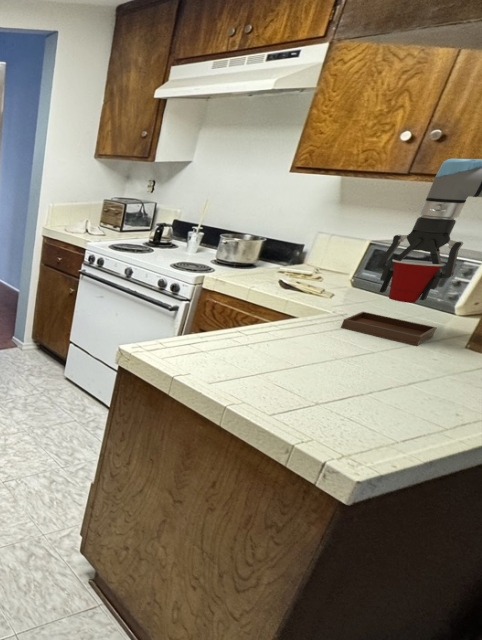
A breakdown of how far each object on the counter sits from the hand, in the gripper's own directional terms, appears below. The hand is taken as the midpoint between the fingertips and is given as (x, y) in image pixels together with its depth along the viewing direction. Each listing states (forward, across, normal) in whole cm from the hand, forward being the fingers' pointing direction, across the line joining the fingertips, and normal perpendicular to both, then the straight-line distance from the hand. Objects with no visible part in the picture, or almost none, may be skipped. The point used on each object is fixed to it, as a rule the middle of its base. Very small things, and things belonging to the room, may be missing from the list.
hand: (402, 295), depth 140 cm
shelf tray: (+12, 0, 0) cm, 12 cm away
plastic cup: (+2, 0, 0) cm, 2 cm away
